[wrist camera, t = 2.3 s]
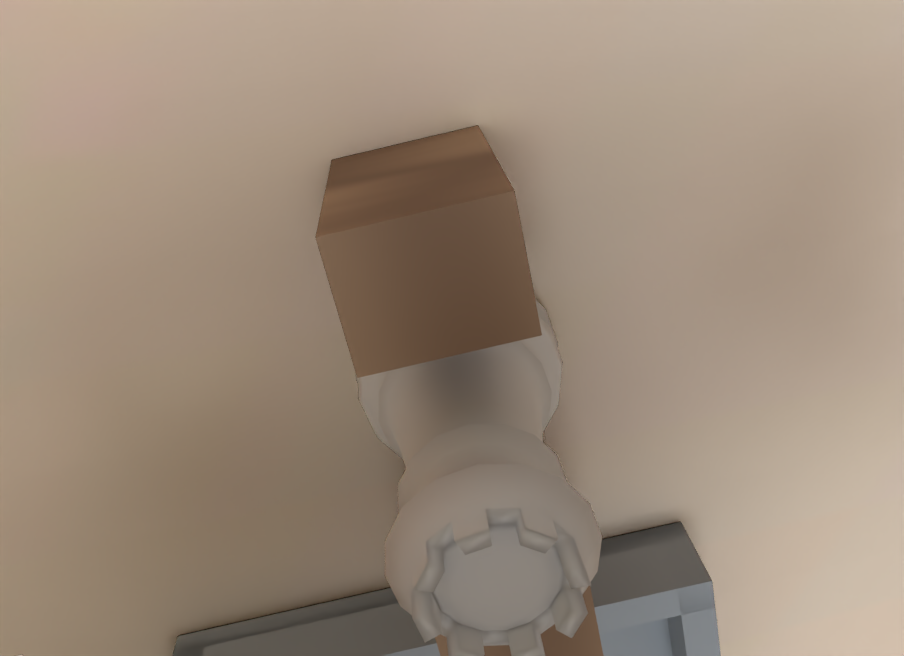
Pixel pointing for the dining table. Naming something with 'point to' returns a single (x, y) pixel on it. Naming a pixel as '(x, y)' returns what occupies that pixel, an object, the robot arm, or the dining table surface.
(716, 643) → the tray
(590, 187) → the dining table surface
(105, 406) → the dining table surface
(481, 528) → the rook chess piece
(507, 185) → the walnut posts
